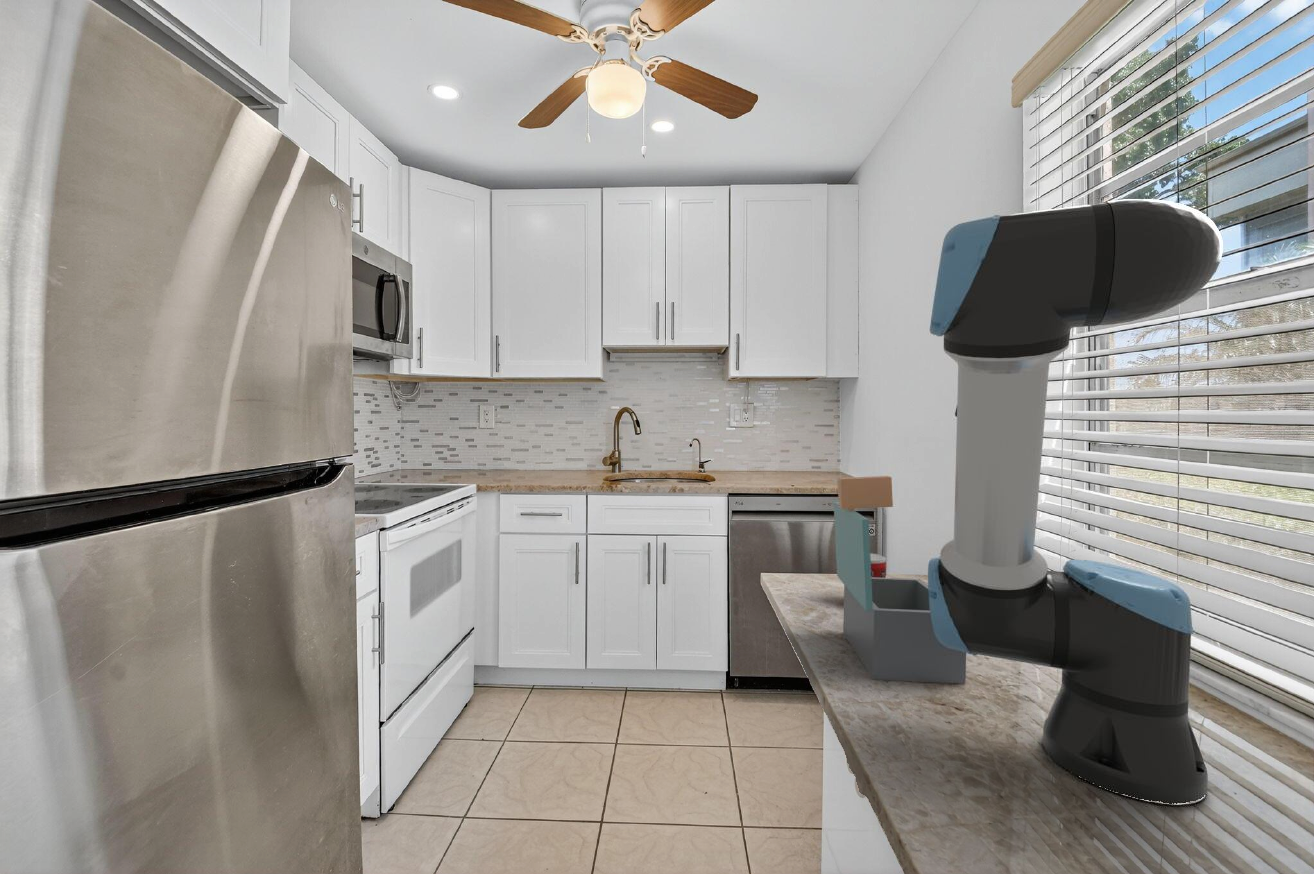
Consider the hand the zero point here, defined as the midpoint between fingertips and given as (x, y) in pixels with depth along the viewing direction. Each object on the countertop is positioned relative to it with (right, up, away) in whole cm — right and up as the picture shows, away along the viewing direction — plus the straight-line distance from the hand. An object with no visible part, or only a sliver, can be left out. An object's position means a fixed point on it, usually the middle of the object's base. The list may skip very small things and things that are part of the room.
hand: (985, 456), depth 102 cm
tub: (-17, -35, -3) cm, 39 cm away
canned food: (-12, -34, +25) cm, 44 cm away
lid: (-18, -13, -3) cm, 23 cm away
